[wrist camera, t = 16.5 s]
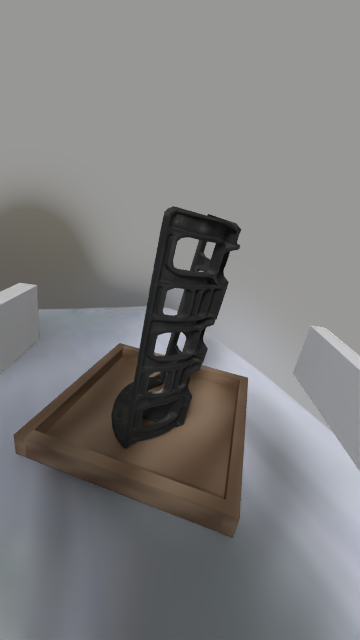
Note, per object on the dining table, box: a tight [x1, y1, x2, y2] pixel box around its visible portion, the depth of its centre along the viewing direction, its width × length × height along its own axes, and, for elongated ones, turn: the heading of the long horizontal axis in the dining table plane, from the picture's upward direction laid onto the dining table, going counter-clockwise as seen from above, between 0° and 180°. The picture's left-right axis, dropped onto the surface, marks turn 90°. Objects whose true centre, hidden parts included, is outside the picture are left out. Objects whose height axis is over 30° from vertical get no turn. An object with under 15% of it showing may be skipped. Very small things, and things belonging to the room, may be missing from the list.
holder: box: [111, 206, 241, 449], centre depth 25 cm, size 11×8×20 cm
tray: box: [14, 343, 248, 537], centre depth 28 cm, size 18×18×2 cm
